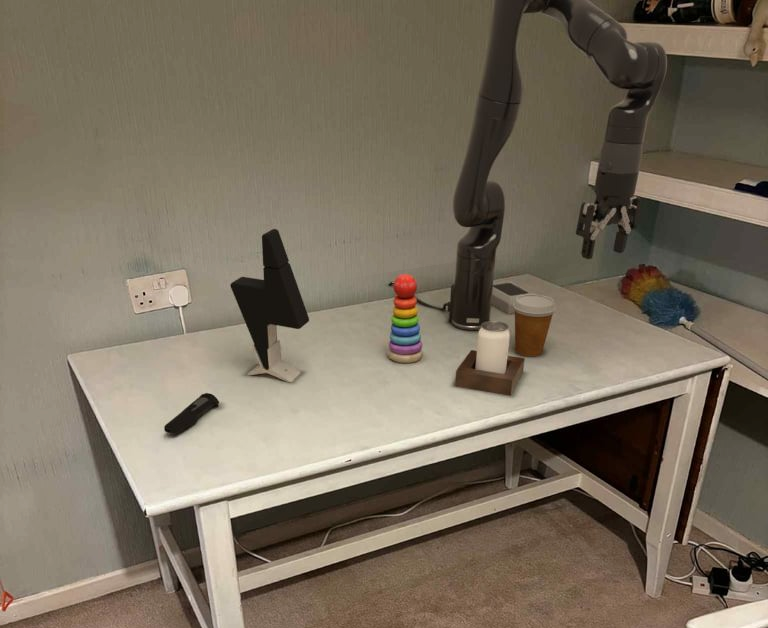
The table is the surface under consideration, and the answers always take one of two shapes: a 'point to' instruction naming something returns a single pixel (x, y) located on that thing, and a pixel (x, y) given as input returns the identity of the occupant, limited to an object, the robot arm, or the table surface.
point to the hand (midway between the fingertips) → (602, 255)
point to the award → (271, 307)
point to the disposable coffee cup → (532, 323)
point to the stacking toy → (405, 322)
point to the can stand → (489, 375)
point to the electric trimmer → (191, 413)
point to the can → (492, 347)
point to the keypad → (506, 295)
